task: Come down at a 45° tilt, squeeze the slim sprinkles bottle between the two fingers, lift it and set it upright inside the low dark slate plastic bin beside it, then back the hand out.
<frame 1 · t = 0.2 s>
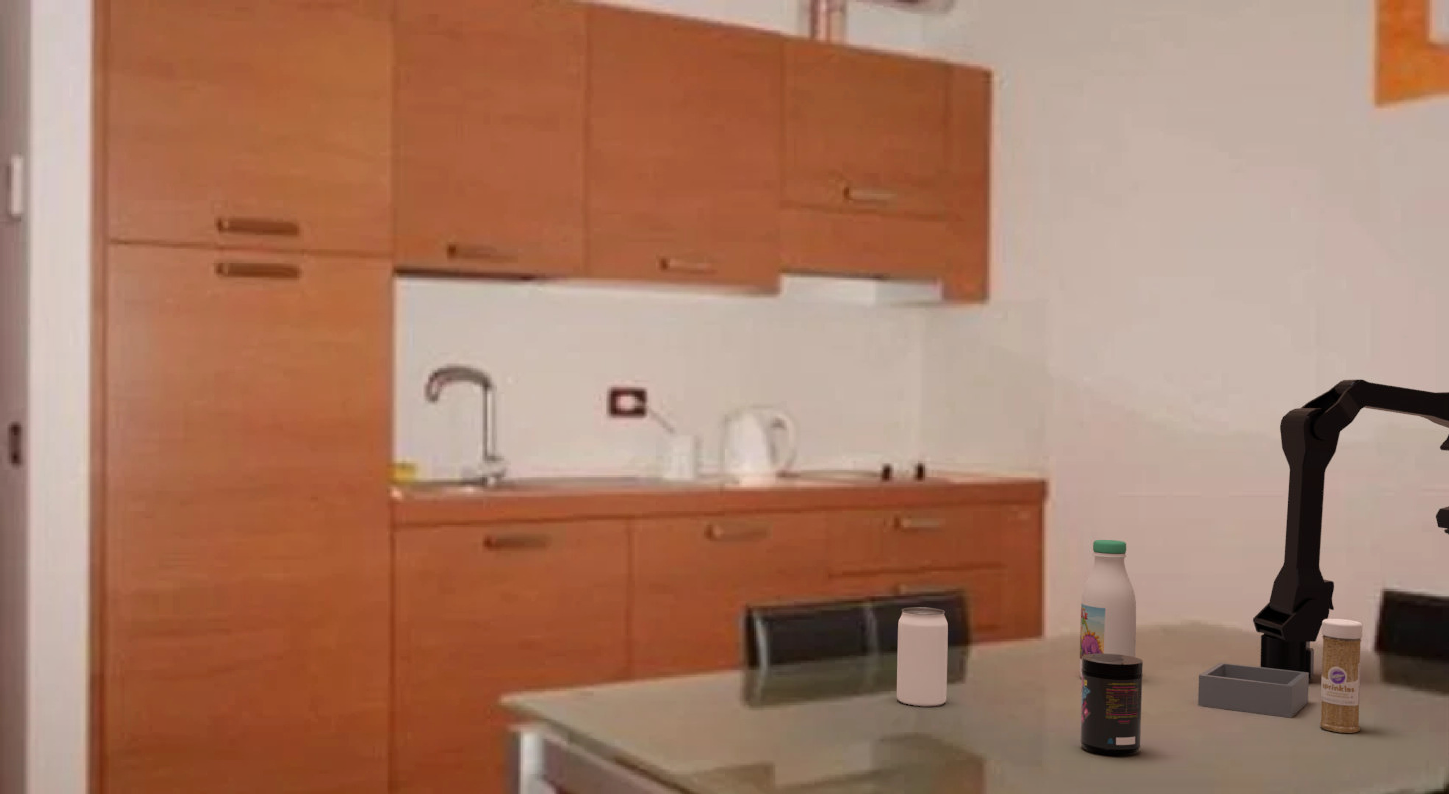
milk bottle: (1106, 681, 198), on the table
can: (921, 703, 180), on the table
sprinkles bottle: (1339, 731, 170), on the table
supplement container: (1110, 752, 157), on the table
bin: (1253, 703, 184), on the table
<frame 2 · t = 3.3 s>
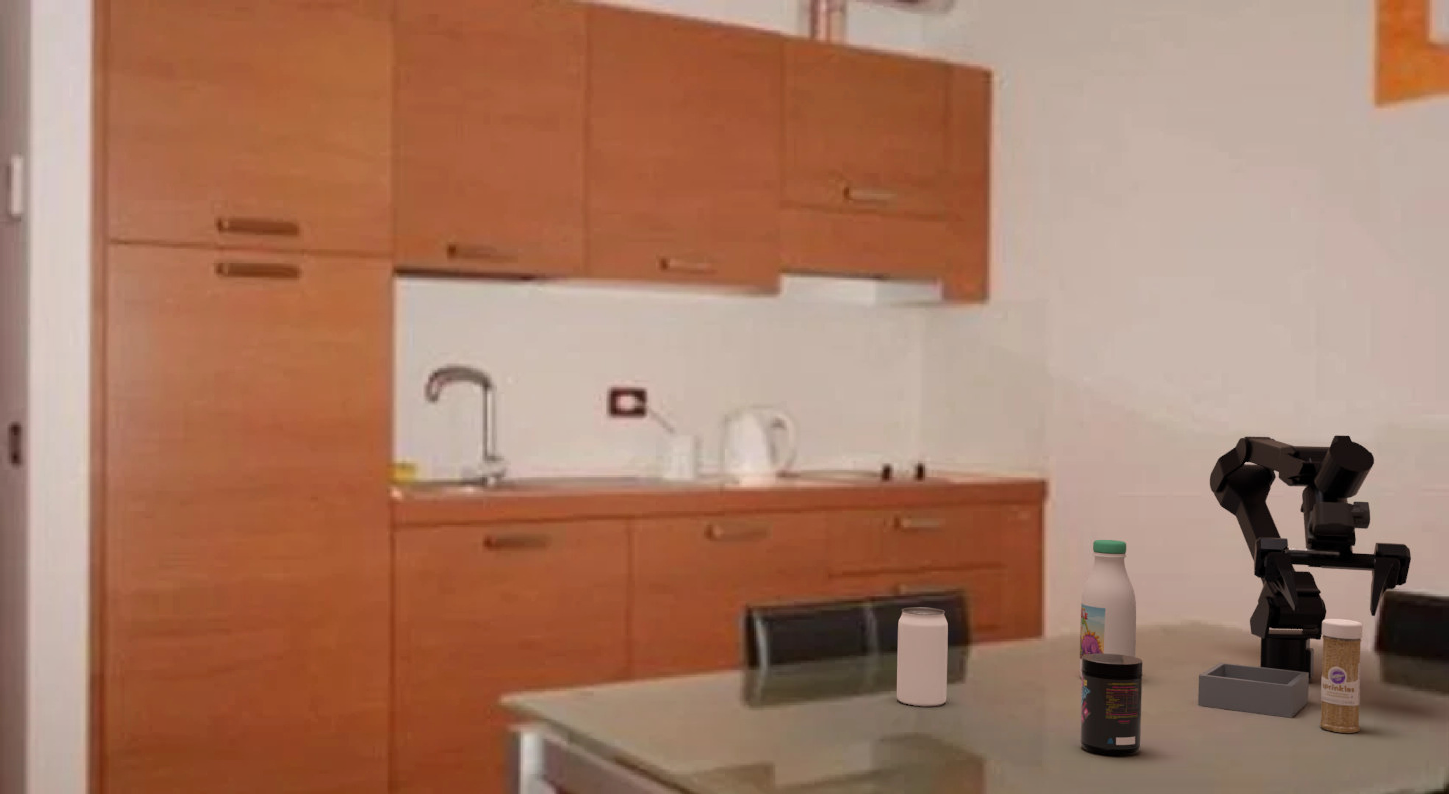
hand: (1334, 611, 177), 13 cm above the table, tool tilted 45°, fingers open, 9 cm apart
nothing on the table moved.
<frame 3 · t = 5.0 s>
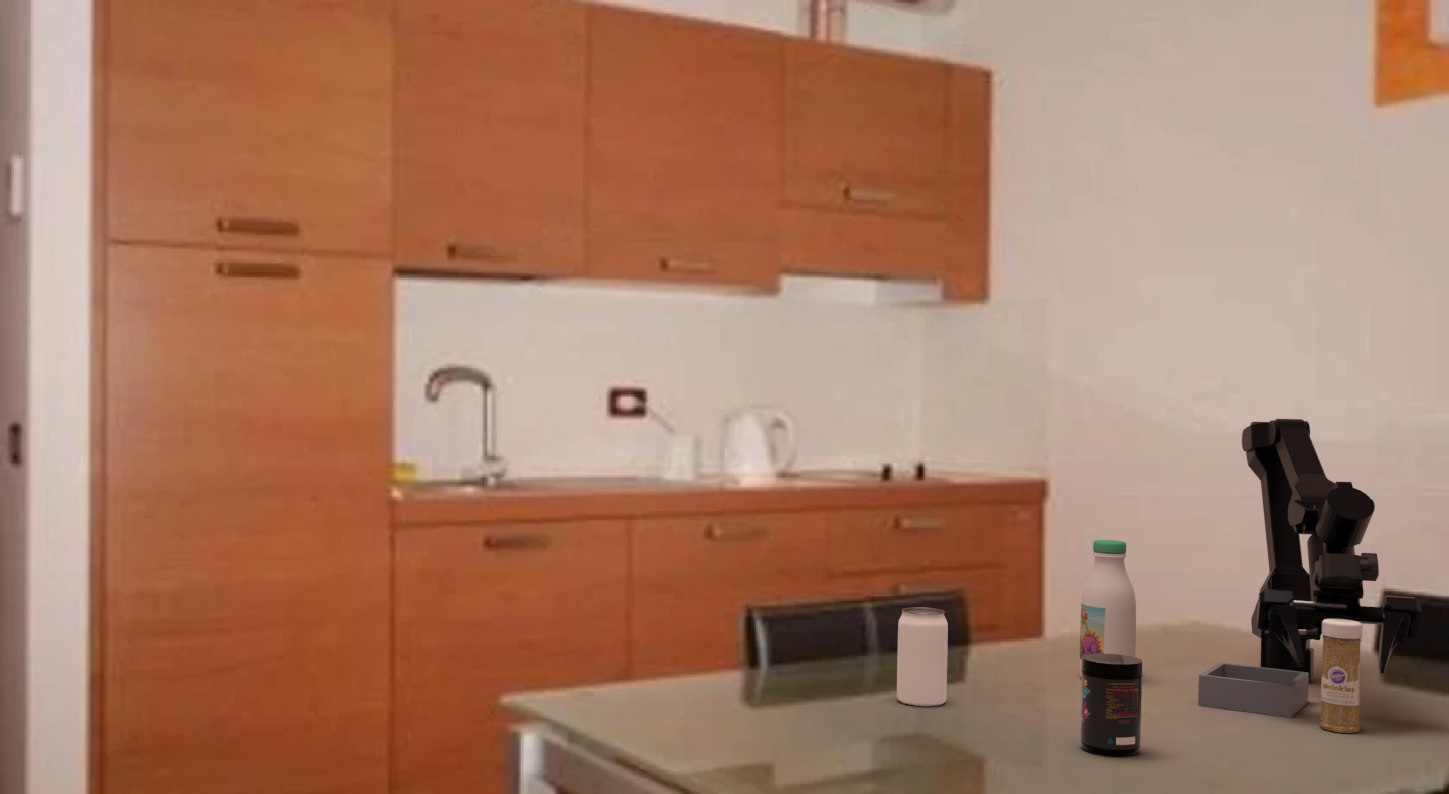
hand: (1341, 668, 169), 8 cm above the table, tool tilted 45°, fingers open, 9 cm apart
nothing on the table moved.
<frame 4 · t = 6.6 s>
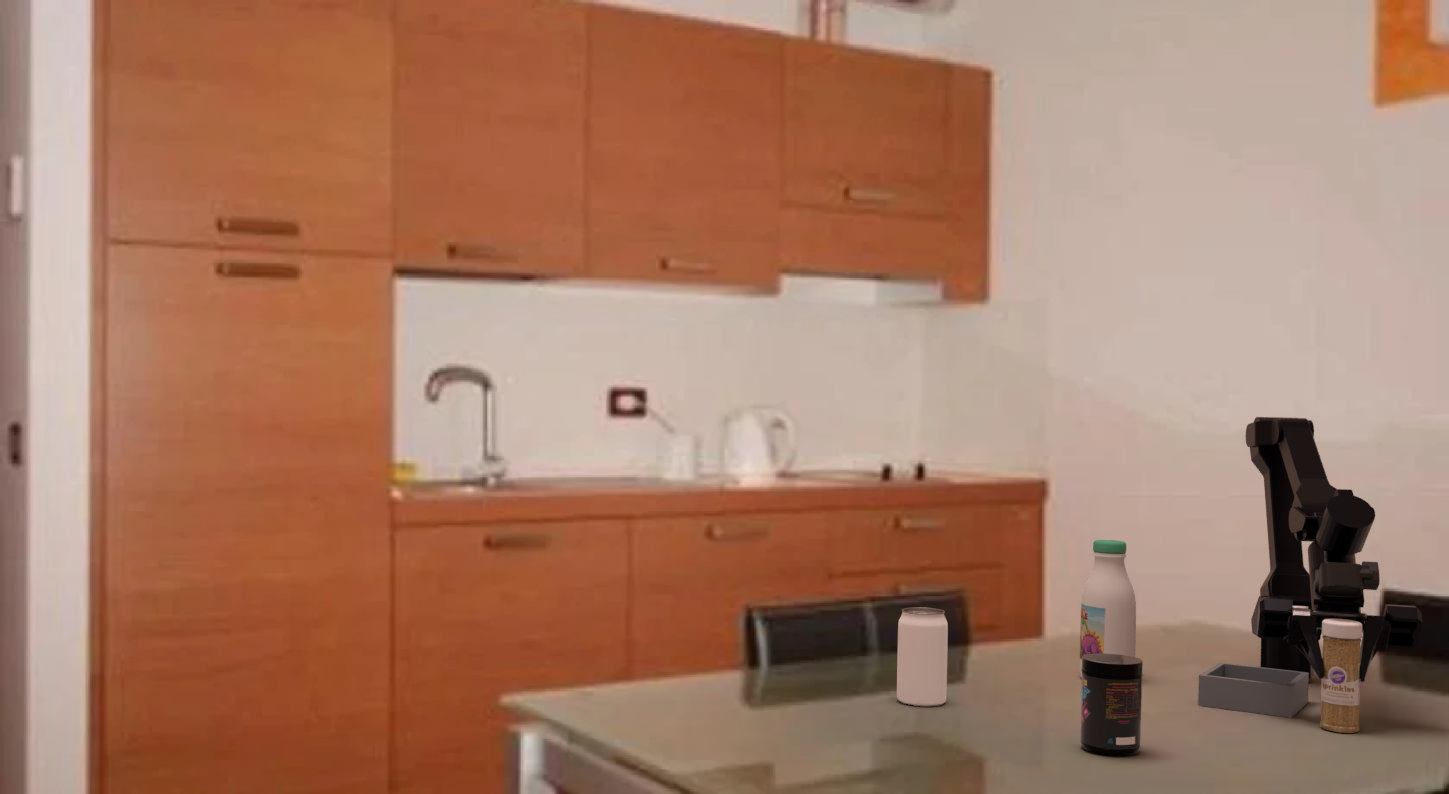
hand: (1342, 678, 168), 7 cm above the table, tool tilted 45°, fingers closed on sprinkles bottle, 4 cm apart
sprinkles bottle: (1339, 731, 170), on the table, touching gripper
everything else where it was.
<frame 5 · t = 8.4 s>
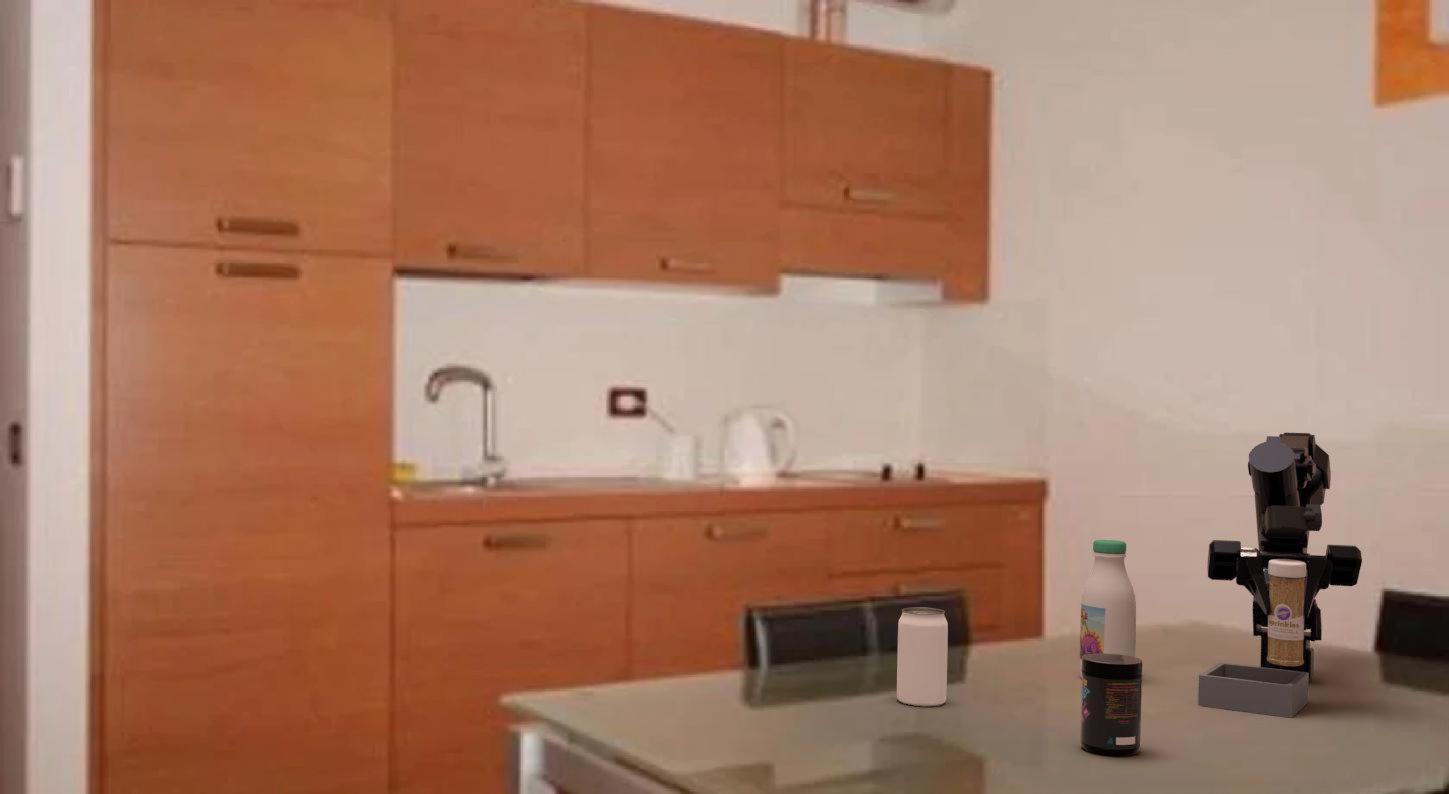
hand: (1287, 614, 178), 13 cm above the table, tool tilted 45°, fingers closed on sprinkles bottle, 4 cm apart
sprinkles bottle: (1285, 665, 179), point 6 cm above the table, touching gripper
everything else where it was.
when the fingers open (9 cm above the table, at t = 10.5 s): sprinkles bottle drops 2 cm, resting on bin.
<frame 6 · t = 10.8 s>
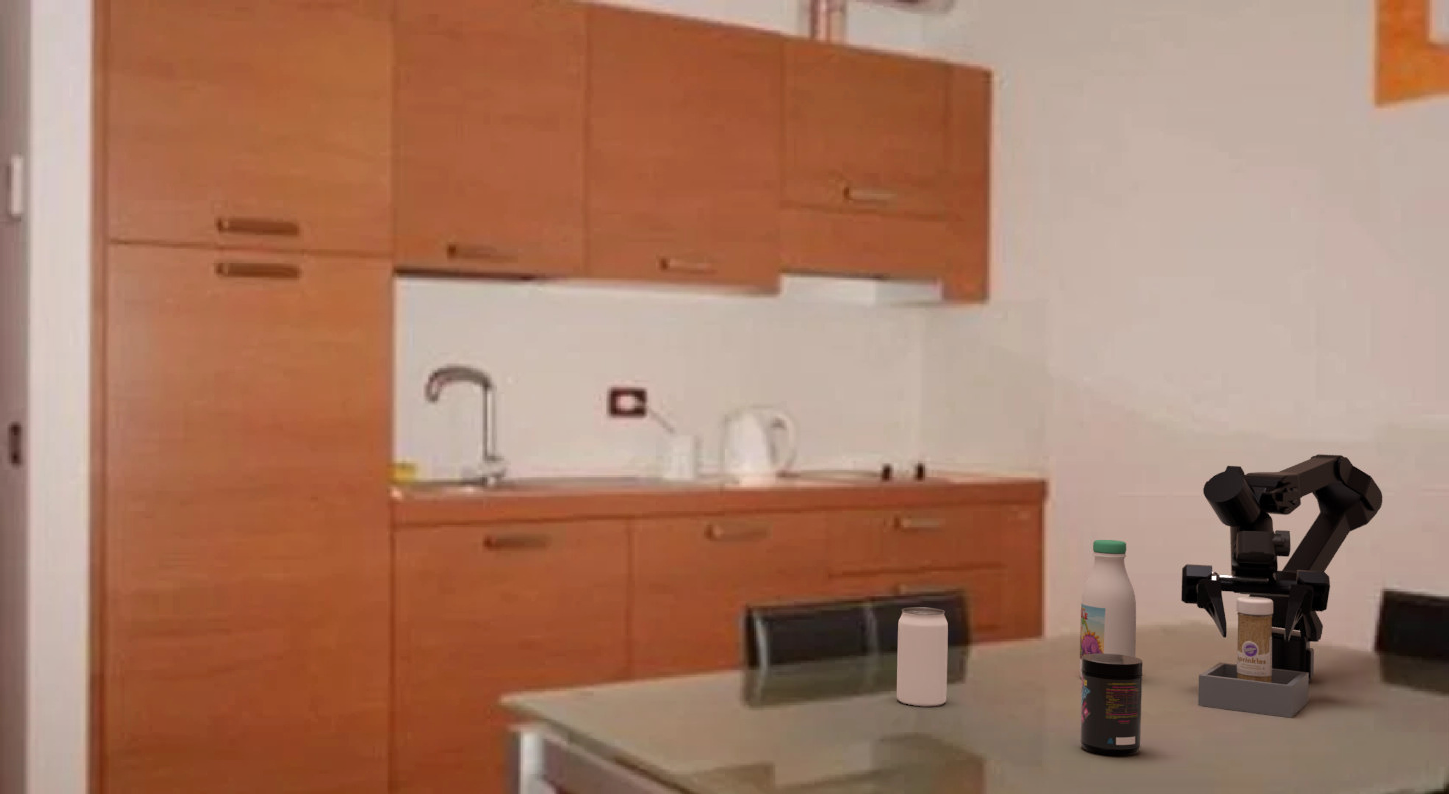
hand: (1255, 637, 182), 9 cm above the table, tool tilted 45°, fingers open, 7 cm apart
sprinkles bottle: (1254, 700, 184), resting on bin
everything else where it was.
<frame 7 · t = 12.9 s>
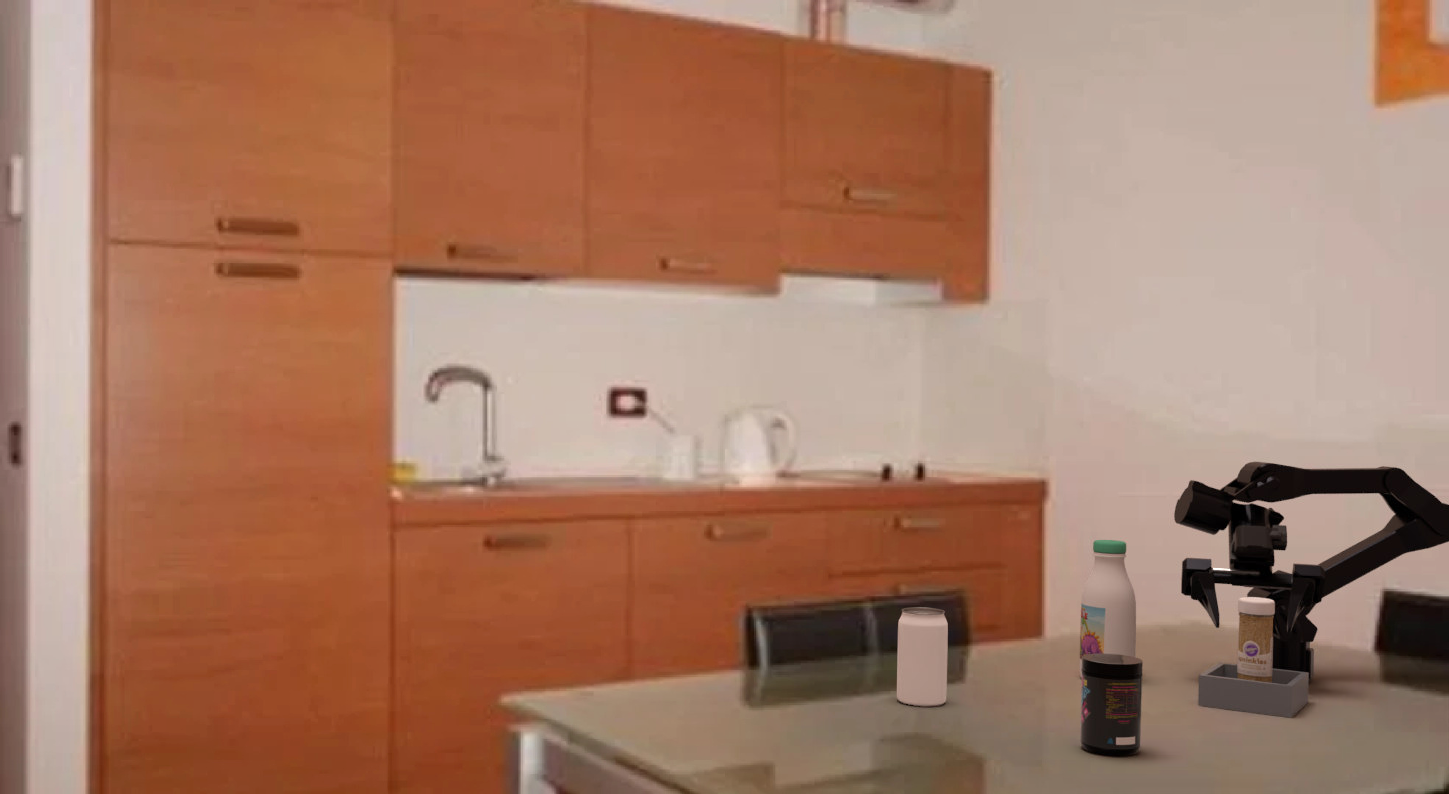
hand: (1253, 628, 189), 9 cm above the table, tool tilted 45°, fingers open, 9 cm apart
nothing on the table moved.
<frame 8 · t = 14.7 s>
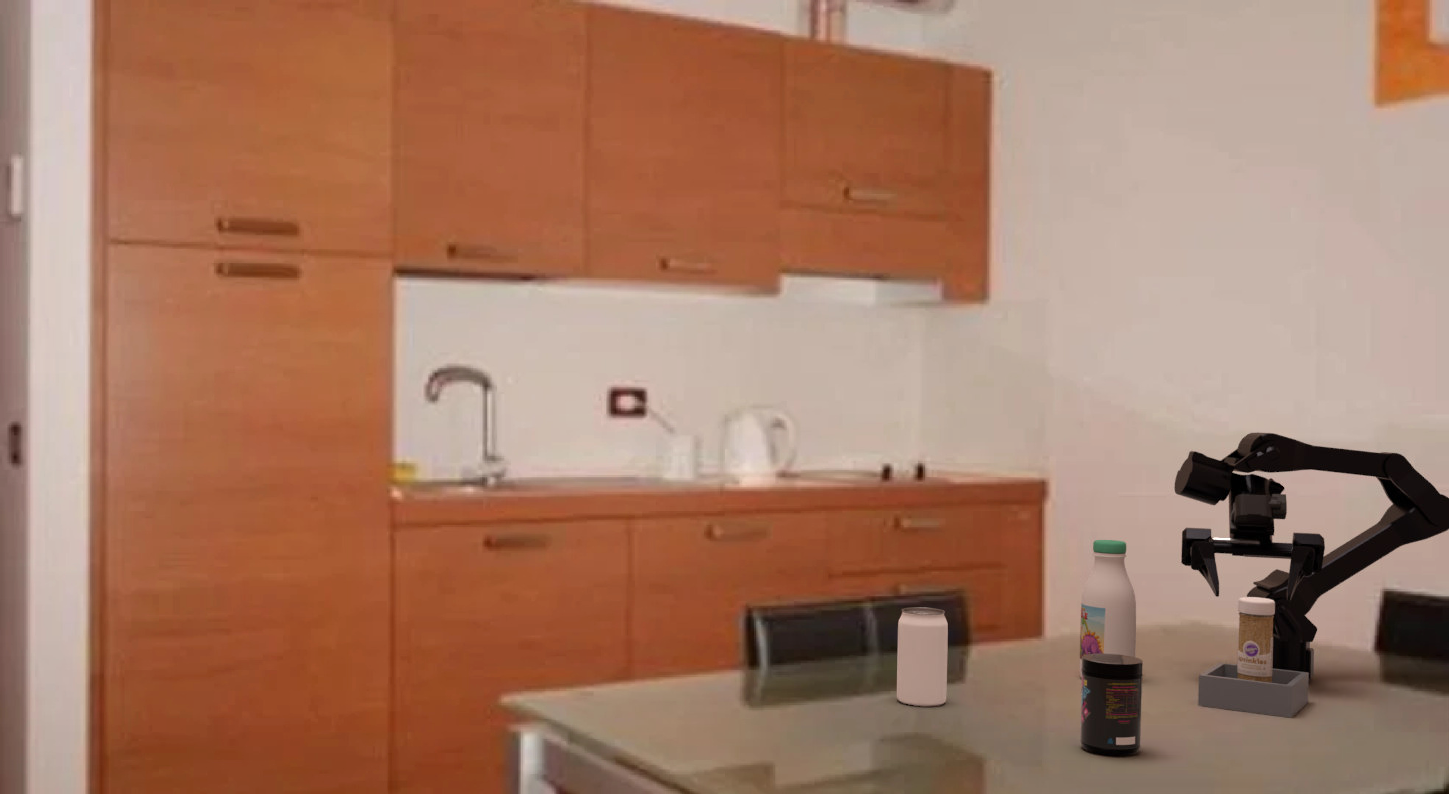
hand: (1253, 596, 189), 14 cm above the table, tool tilted 45°, fingers open, 9 cm apart
nothing on the table moved.
at the end: sprinkles bottle 0.2 cm off-centre on the bin, point 0.4 cm above the bin's base; sprinkles bottle tilted 0°; the gripper is holding nothing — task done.
